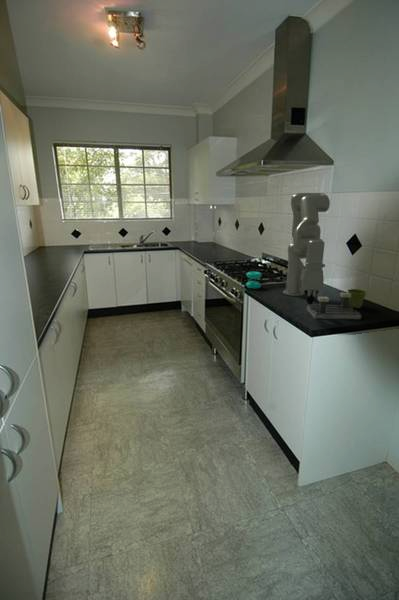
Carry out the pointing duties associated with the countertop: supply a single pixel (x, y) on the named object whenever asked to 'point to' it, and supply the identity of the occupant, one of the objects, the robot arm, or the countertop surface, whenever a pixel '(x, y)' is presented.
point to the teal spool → (253, 283)
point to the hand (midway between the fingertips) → (309, 303)
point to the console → (333, 312)
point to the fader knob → (322, 304)
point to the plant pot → (356, 297)
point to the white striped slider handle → (345, 299)
